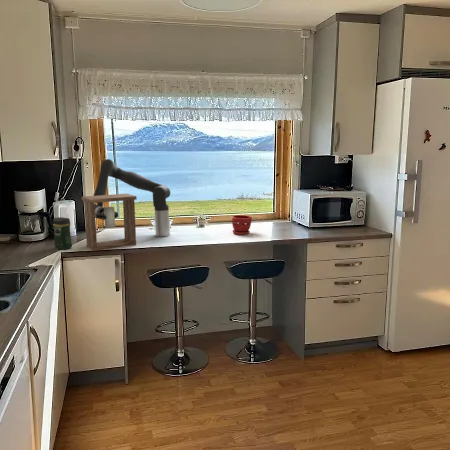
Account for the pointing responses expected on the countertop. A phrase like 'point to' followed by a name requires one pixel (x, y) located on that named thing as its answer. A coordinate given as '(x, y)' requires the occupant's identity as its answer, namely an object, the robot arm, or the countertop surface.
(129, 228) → the on counter shelf
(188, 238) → the countertop surface
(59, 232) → the coffee jar
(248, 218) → the plant pot
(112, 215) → the white cylinder
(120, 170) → the robot arm
